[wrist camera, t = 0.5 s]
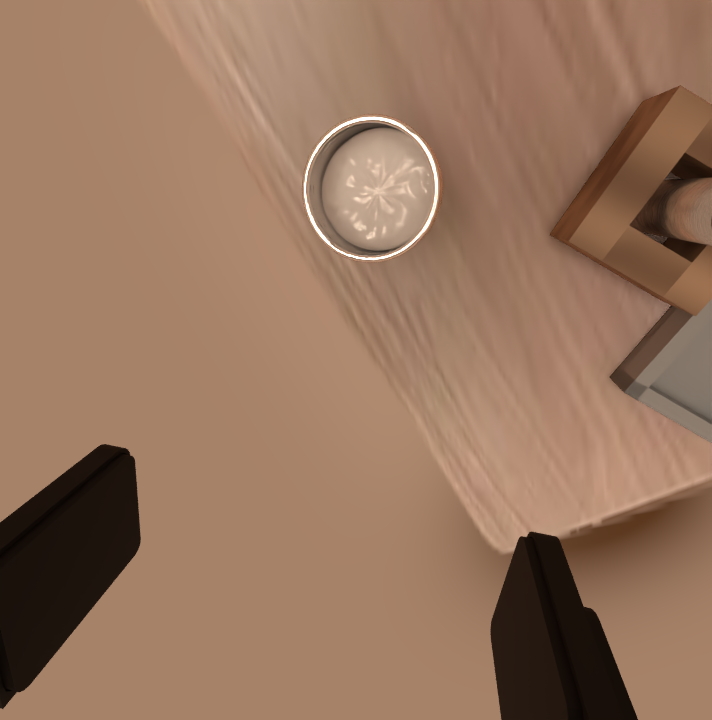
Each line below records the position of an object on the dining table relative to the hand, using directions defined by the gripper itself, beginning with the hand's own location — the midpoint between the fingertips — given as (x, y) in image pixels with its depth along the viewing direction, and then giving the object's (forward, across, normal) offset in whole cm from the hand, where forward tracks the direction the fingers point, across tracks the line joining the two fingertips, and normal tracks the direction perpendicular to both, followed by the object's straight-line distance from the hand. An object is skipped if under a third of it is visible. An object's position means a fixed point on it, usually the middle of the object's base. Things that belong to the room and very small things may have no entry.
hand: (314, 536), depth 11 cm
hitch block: (+29, -17, -9) cm, 35 cm away
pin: (+29, -17, -9) cm, 35 cm away
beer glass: (+29, +2, -7) cm, 30 cm away
